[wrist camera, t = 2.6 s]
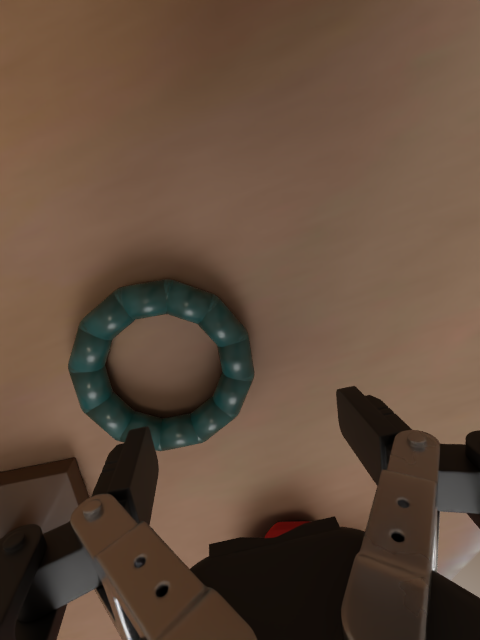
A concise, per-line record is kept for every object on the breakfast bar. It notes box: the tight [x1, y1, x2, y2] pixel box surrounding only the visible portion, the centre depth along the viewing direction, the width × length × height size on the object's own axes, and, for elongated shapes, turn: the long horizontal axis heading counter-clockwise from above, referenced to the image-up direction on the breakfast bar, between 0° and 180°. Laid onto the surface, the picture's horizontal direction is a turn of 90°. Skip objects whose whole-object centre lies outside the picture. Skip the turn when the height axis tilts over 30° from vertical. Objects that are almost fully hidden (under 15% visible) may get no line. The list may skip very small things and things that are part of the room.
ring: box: [68, 279, 254, 451], centre depth 21 cm, size 11×11×2 cm
